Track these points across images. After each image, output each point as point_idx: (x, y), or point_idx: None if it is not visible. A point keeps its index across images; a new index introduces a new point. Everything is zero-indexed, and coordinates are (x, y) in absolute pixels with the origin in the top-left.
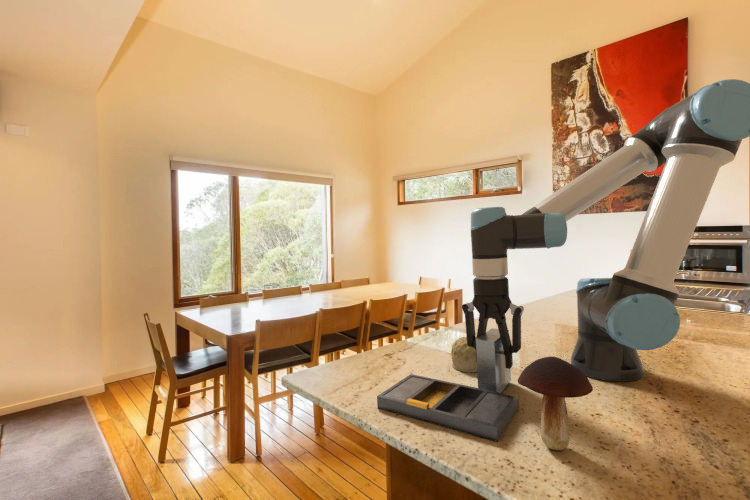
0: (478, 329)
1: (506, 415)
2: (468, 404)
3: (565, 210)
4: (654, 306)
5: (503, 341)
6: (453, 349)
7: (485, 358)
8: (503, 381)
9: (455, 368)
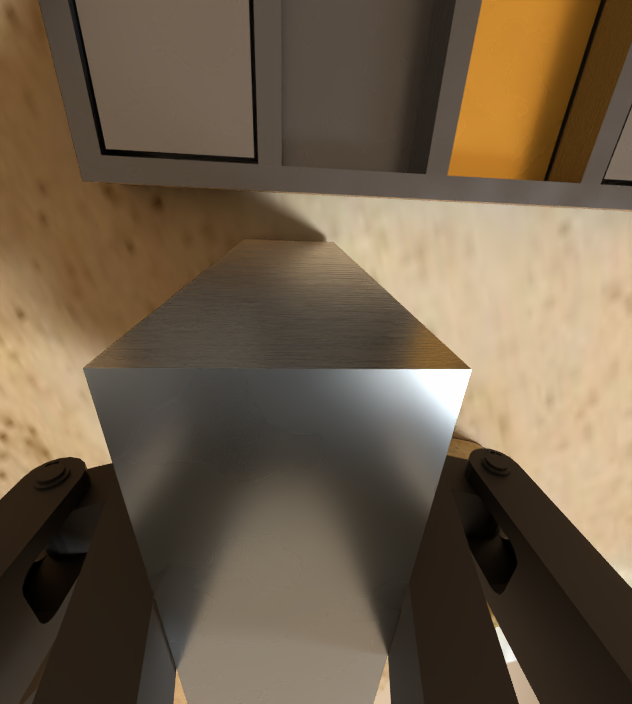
0: (498, 678)
1: None
2: (342, 73)
3: None
4: None
5: (137, 544)
6: None
7: (291, 284)
8: None
9: (481, 446)
